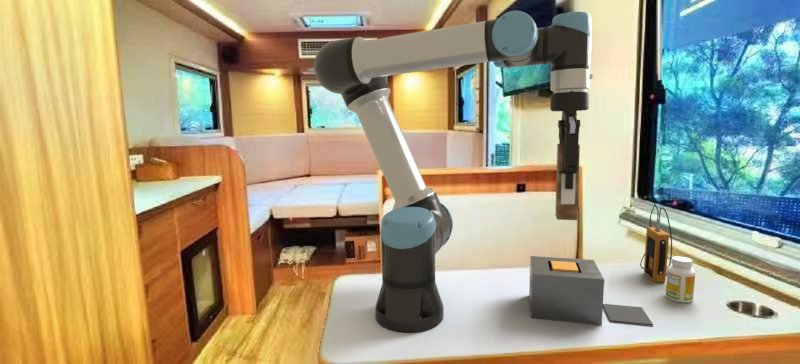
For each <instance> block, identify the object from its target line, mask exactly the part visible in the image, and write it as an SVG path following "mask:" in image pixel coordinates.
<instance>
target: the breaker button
mask: <svg viewBox="0 0 800 364" xmlns="http://www.w3.org/2000/svg"><path fill="white" fill-rule="evenodd" d="M551 271H560V272H574V273H579V270H578V268H577V265H576V263H575V262H562V261H551Z"/></svg>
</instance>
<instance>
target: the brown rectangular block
mask: <svg viewBox="0 0 800 364" xmlns="http://www.w3.org/2000/svg"><path fill="white" fill-rule="evenodd" d="M556 145H557V146H556V149H557V150H556V177H555V178H556V181H555V182H556V184H555V186H556V187H555V218H556V220H557V221H559V220H562V221H564V220H565V221H578V209H579V208H578V207H579V183H580V182H579V178H580V177H579V175H580V154H581V153H580V150H581V149H580V148H581V145H580V144H579V143H578V171H577V172H576V185H575V204H561V177H562V174H559V171H560V170H563V144H559V143H557V144H556Z"/></svg>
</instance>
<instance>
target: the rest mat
mask: <svg viewBox="0 0 800 364" xmlns="http://www.w3.org/2000/svg"><path fill="white" fill-rule="evenodd" d="M603 310H604V312H605V313H606V316H607V318H608V320H609V322H611V323H618V324H627V325H628V324H629V325H638V326H639V325H640V326H646V327H647V326H648V327H649V326H650V327H654V324H653V321H652V320H651V319H650V317H649V316H648V314H647V313H646V311H645V310H644V309H643V307H642V306H632V305H622V304H621V305H620V304H612V303H609V304H608V303H603Z"/></svg>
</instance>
